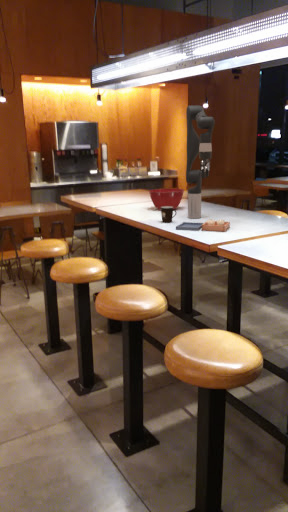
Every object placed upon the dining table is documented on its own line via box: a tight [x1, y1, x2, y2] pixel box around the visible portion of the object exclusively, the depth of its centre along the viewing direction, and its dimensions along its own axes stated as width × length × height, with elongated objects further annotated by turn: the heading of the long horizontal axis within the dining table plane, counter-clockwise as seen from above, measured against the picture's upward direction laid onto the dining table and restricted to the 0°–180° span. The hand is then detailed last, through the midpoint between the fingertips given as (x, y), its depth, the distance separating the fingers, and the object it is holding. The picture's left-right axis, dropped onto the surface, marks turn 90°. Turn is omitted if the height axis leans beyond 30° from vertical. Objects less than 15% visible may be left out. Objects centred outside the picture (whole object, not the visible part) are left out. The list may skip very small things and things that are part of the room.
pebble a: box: [206, 219, 216, 225], centre depth 258 cm, size 4×4×4 cm
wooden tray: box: [201, 220, 231, 233], centre depth 257 cm, size 14×14×4 cm
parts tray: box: [175, 221, 205, 232], centre depth 263 cm, size 16×14×2 cm
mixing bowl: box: [148, 188, 185, 211], centre depth 338 cm, size 28×28×16 cm
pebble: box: [216, 219, 225, 226], centre depth 255 cm, size 4×4×4 cm
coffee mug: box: [160, 206, 177, 224], centre depth 282 cm, size 12×9×10 cm
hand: (205, 177), depth 263 cm, fingers open, 8 cm apart
